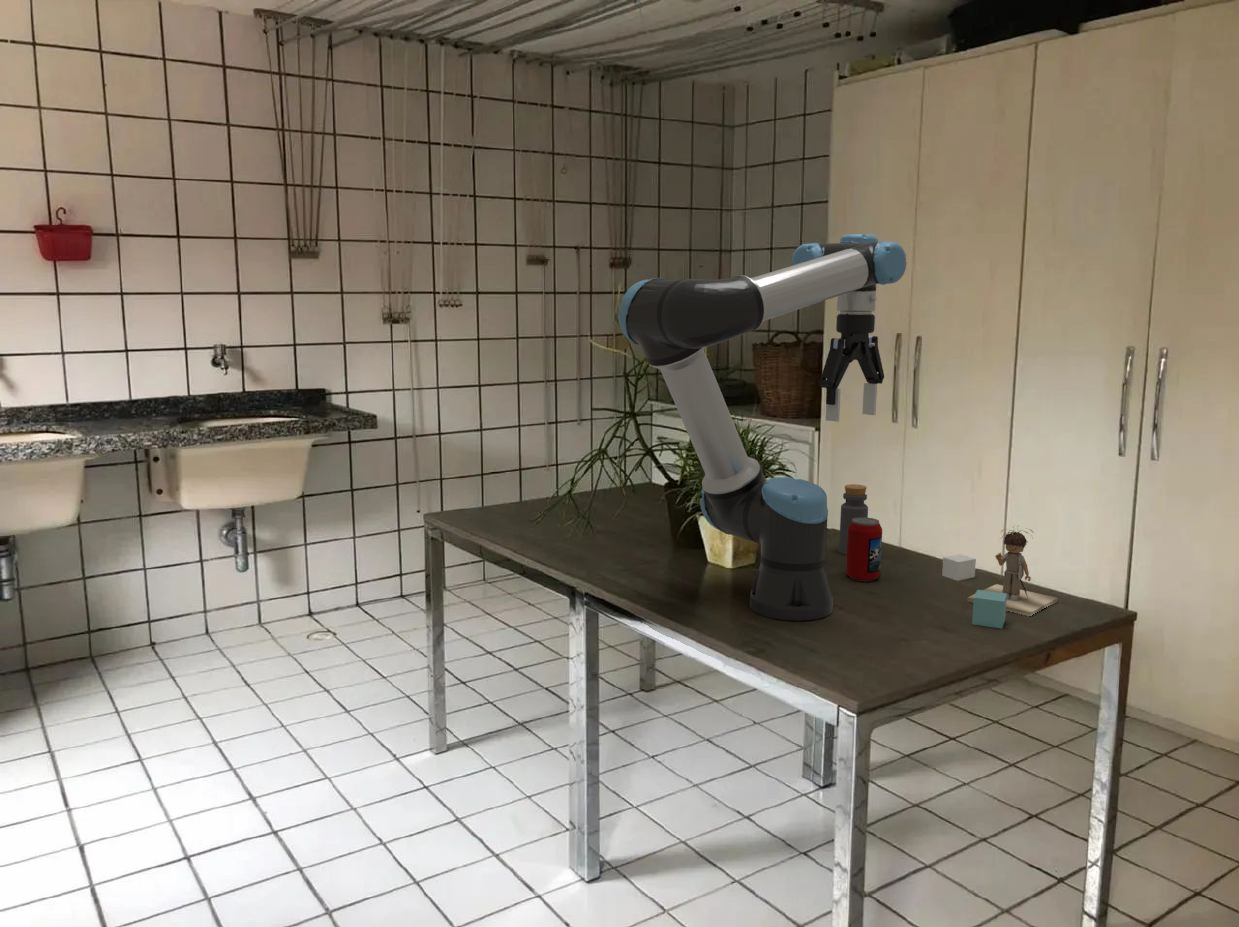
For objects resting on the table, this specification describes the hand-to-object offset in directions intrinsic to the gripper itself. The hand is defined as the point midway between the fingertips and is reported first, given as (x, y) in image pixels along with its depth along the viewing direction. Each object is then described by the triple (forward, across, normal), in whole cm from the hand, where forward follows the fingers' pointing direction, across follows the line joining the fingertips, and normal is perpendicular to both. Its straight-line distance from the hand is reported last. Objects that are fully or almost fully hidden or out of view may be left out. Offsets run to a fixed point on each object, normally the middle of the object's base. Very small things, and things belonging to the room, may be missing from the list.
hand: (851, 417), depth 205 cm
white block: (+32, +11, -20) cm, 39 cm away
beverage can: (+32, -4, -7) cm, 33 cm away
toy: (+31, +2, -35) cm, 47 cm away
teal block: (+32, -11, -37) cm, 50 cm away
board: (+32, +3, -35) cm, 47 cm away
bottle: (+32, +11, +5) cm, 34 cm away
